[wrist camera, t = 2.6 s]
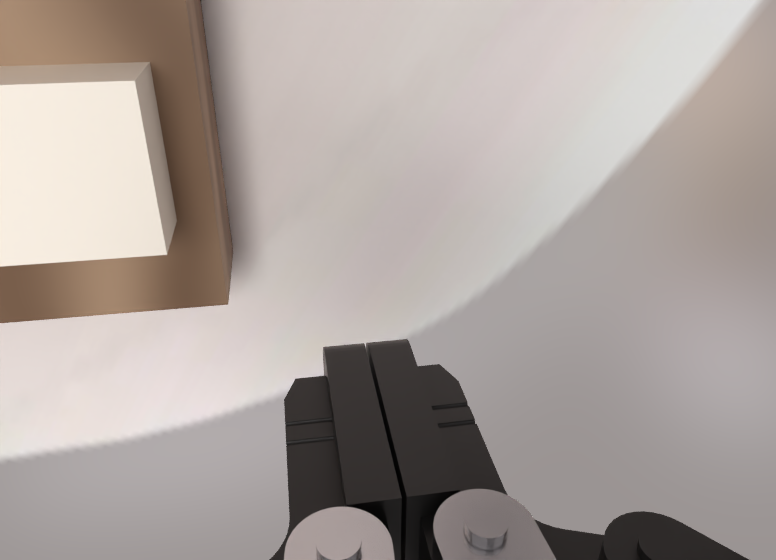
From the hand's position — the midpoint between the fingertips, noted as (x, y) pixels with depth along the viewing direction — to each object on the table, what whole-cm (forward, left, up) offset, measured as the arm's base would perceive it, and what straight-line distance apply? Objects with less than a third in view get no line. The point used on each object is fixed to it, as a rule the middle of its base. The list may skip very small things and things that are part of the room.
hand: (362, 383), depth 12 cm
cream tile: (+8, 0, -15) cm, 17 cm away
